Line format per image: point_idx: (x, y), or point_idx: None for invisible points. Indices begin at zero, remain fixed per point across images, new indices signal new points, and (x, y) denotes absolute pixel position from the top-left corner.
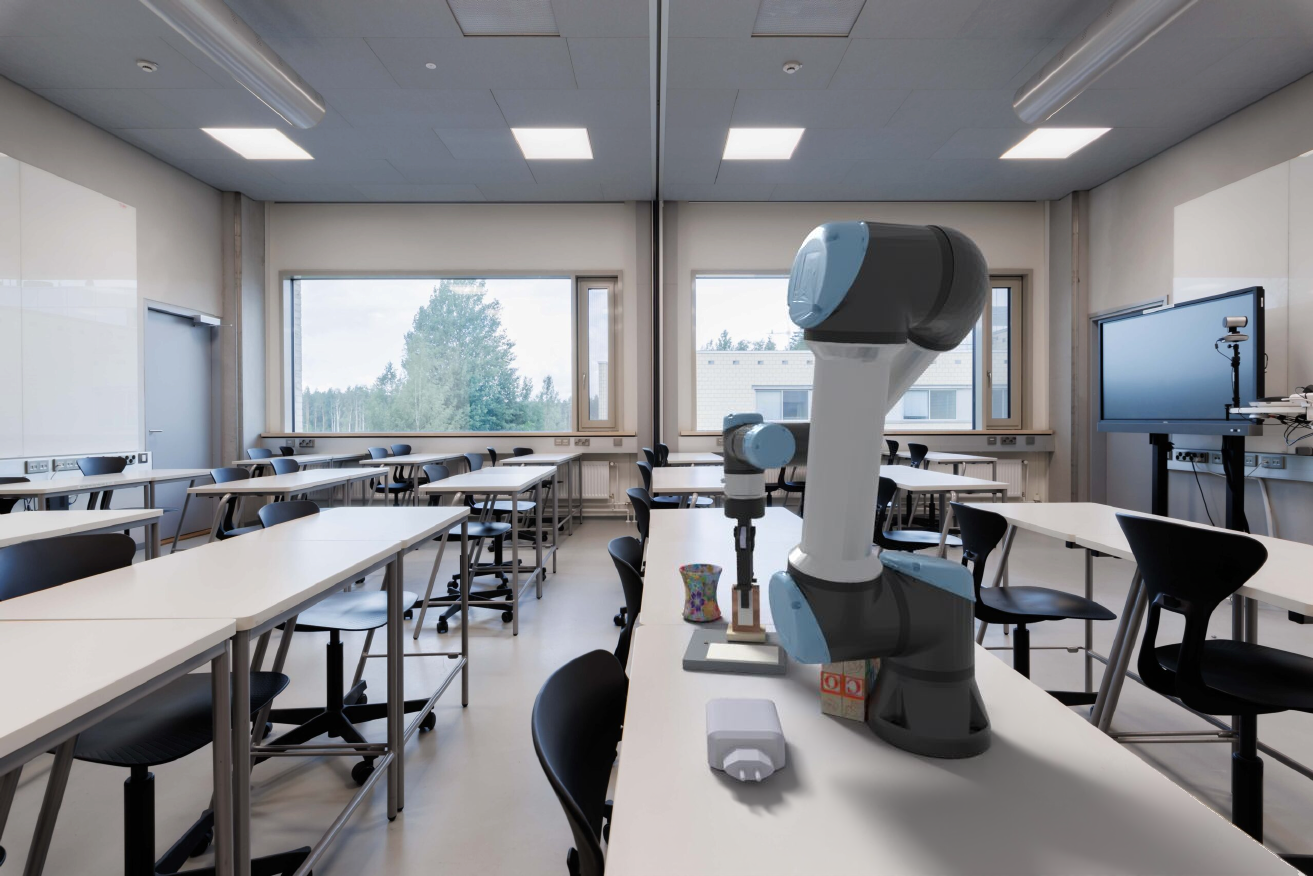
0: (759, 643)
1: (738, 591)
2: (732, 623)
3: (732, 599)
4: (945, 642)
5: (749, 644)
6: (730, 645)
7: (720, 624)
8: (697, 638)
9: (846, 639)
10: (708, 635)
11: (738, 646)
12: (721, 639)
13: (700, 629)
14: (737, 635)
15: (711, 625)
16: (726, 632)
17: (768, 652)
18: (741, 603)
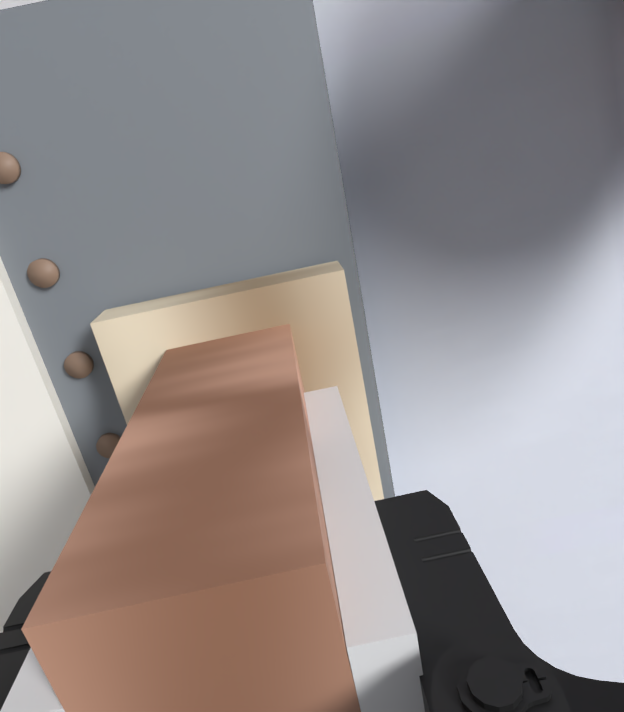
0: None
1: (14, 704)
2: (155, 375)
3: (92, 507)
4: None
5: None
6: (7, 370)
7: (611, 98)
8: (69, 63)
9: None
10: (177, 134)
11: (20, 420)
12: (140, 259)
13: (294, 12)
14: (118, 399)
15: (579, 30)
16: (297, 251)
17: (19, 587)
18: (9, 626)
